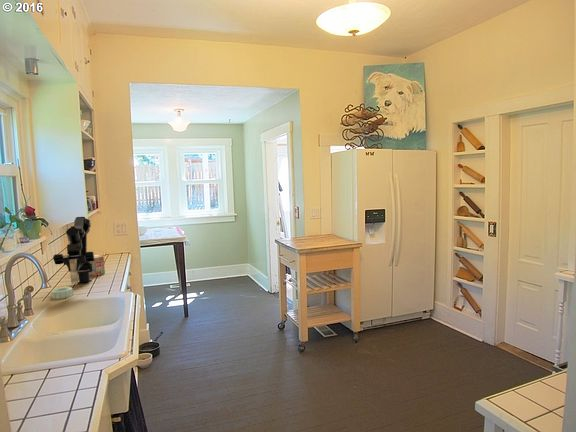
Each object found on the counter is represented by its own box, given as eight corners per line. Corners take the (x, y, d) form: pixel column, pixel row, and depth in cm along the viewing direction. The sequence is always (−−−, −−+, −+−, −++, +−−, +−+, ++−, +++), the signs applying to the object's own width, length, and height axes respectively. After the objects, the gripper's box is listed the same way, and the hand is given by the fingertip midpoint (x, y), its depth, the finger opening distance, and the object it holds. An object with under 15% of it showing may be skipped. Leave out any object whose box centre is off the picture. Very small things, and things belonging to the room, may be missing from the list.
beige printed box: (77, 273, 257) (75, 255, 256) (86, 271, 263) (84, 253, 262) (96, 276, 247) (95, 257, 246) (105, 274, 252) (104, 255, 251)
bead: (58, 294, 205) (57, 287, 204) (76, 293, 205) (75, 286, 205) (48, 299, 195) (47, 292, 195) (67, 298, 196) (66, 291, 196)
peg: (74, 282, 202) (72, 258, 201) (79, 282, 201) (77, 258, 200) (69, 283, 199) (68, 260, 198) (75, 283, 198) (73, 260, 197)
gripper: (52, 239, 199) (49, 264, 189) (92, 236, 205) (91, 260, 196) (56, 251, 207) (54, 276, 197) (95, 249, 213) (94, 272, 204)
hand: (73, 271), depth 198 cm, fingers closed on peg, 3 cm apart
